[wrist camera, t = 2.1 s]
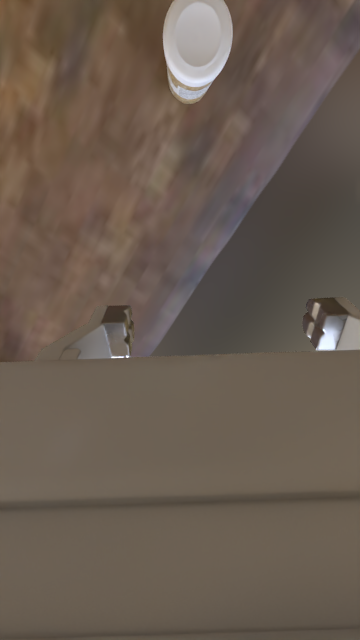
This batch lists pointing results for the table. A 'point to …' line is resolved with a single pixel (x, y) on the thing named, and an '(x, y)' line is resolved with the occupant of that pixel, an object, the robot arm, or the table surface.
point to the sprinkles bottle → (196, 45)
